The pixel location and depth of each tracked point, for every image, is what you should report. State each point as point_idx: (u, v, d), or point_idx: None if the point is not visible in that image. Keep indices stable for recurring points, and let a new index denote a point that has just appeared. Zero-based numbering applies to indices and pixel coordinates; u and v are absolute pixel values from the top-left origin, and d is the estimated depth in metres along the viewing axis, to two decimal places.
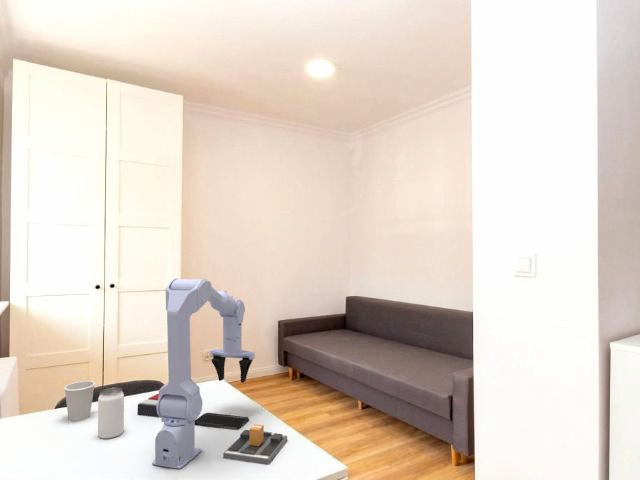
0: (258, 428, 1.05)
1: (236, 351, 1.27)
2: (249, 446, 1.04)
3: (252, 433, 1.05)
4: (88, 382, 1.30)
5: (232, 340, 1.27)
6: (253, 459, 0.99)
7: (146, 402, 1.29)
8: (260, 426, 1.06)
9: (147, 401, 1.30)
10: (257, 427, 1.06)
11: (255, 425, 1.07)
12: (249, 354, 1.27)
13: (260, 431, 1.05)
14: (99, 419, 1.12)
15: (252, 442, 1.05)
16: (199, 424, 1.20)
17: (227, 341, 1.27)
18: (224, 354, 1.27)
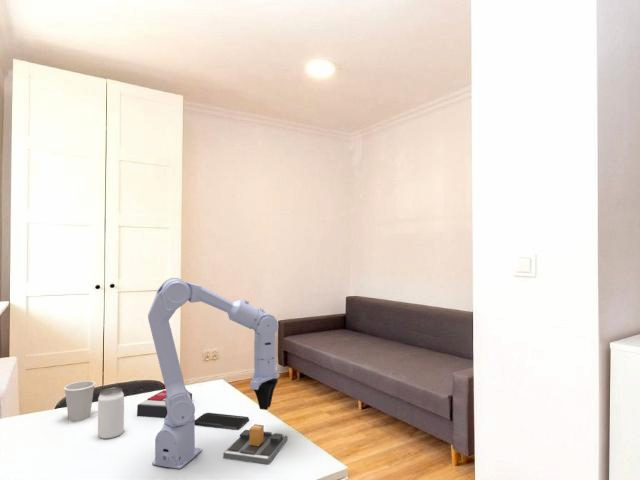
0: (258, 428, 1.05)
1: (255, 373, 1.10)
2: (249, 446, 1.04)
3: (252, 433, 1.05)
4: (88, 382, 1.30)
5: (254, 358, 1.11)
6: (253, 459, 0.99)
7: (146, 403, 1.28)
8: (260, 426, 1.06)
9: (147, 402, 1.29)
10: (257, 427, 1.06)
11: (255, 425, 1.07)
12: None
13: (260, 431, 1.05)
14: (99, 419, 1.12)
15: (252, 442, 1.05)
16: (199, 424, 1.20)
17: None
18: None
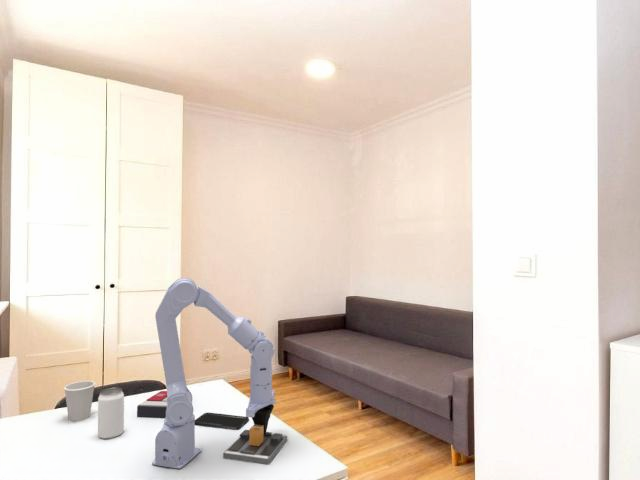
0: (258, 428, 1.05)
1: (251, 399, 1.07)
2: (249, 446, 1.04)
3: (252, 433, 1.05)
4: (88, 382, 1.30)
5: (250, 384, 1.09)
6: (253, 459, 0.99)
7: (146, 404, 1.28)
8: (260, 426, 1.06)
9: (146, 403, 1.29)
10: (257, 427, 1.06)
11: (255, 425, 1.07)
12: None
13: (260, 431, 1.05)
14: (99, 419, 1.12)
15: (252, 442, 1.05)
16: (199, 424, 1.20)
17: None
18: None
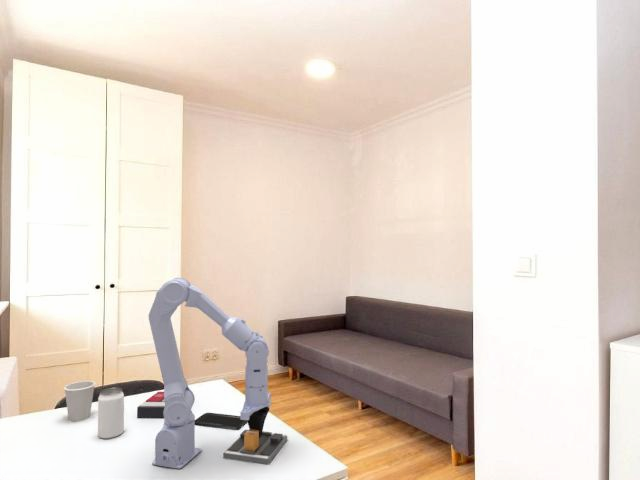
0: (253, 433, 1.02)
1: (246, 402, 1.04)
2: None
3: (247, 438, 1.02)
4: (88, 382, 1.30)
5: (245, 386, 1.06)
6: (253, 459, 0.99)
7: (146, 404, 1.27)
8: (255, 431, 1.03)
9: (146, 403, 1.28)
10: (252, 432, 1.03)
11: (250, 430, 1.04)
12: None
13: (255, 436, 1.02)
14: (99, 419, 1.12)
15: (247, 448, 1.02)
16: (199, 424, 1.20)
17: None
18: None
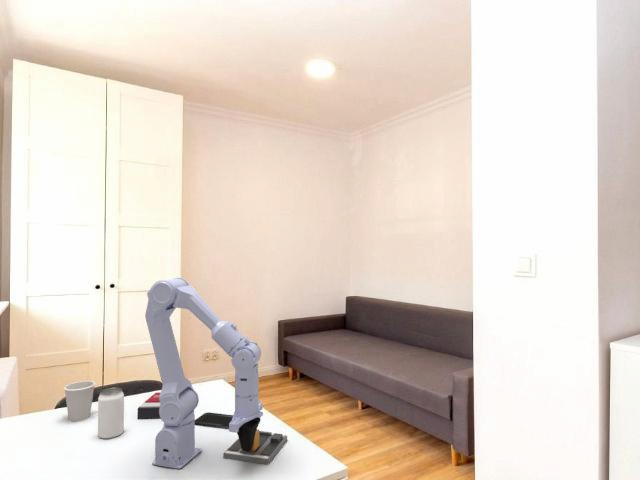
0: None
1: (236, 412, 0.99)
2: None
3: None
4: (88, 382, 1.30)
5: (235, 395, 1.00)
6: (253, 459, 0.99)
7: (146, 405, 1.26)
8: (256, 431, 1.04)
9: (146, 404, 1.27)
10: None
11: None
12: None
13: (256, 436, 1.03)
14: (99, 419, 1.12)
15: None
16: (199, 424, 1.20)
17: None
18: None
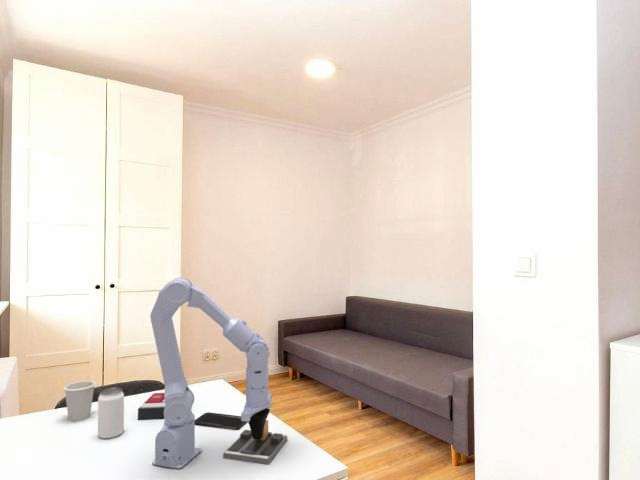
0: None
1: (247, 403, 1.05)
2: (249, 446, 1.04)
3: None
4: (88, 382, 1.30)
5: (246, 387, 1.06)
6: (253, 459, 0.99)
7: (147, 406, 1.26)
8: None
9: (147, 405, 1.27)
10: None
11: None
12: None
13: (265, 426, 1.08)
14: (99, 419, 1.12)
15: None
16: (199, 424, 1.20)
17: None
18: None
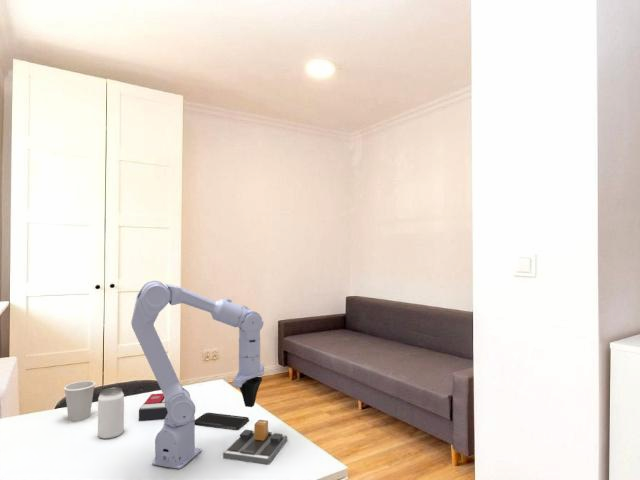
0: (263, 423, 1.08)
1: (240, 371, 1.09)
2: (249, 446, 1.04)
3: (257, 428, 1.08)
4: (88, 382, 1.30)
5: None
6: (253, 459, 0.99)
7: (148, 406, 1.25)
8: (265, 421, 1.09)
9: (147, 405, 1.26)
10: (262, 422, 1.09)
11: (260, 420, 1.10)
12: None
13: (265, 426, 1.08)
14: (99, 419, 1.12)
15: (257, 437, 1.08)
16: (199, 424, 1.20)
17: None
18: None
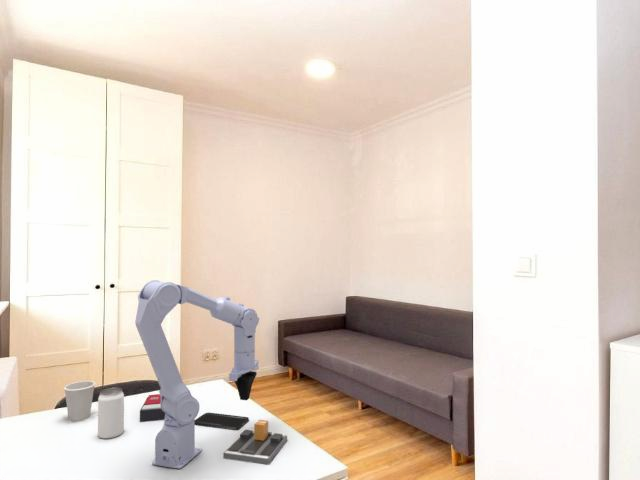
0: (263, 423, 1.08)
1: (235, 366, 1.14)
2: (249, 446, 1.04)
3: (257, 428, 1.08)
4: (88, 382, 1.30)
5: (234, 351, 1.15)
6: (253, 459, 0.99)
7: (149, 407, 1.25)
8: (265, 421, 1.09)
9: (148, 406, 1.26)
10: (262, 422, 1.09)
11: (260, 420, 1.10)
12: None
13: (265, 426, 1.08)
14: (99, 419, 1.12)
15: (257, 437, 1.08)
16: (199, 424, 1.20)
17: None
18: None
